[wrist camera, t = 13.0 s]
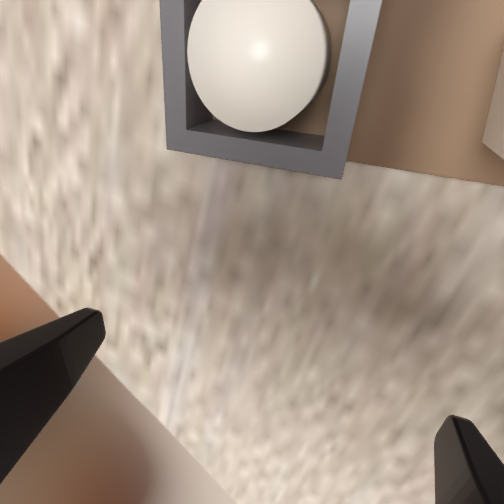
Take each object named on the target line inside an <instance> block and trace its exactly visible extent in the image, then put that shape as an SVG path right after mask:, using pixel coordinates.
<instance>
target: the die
mask: <svg viewBox="0 0 504 504" xmlns="http://www.w3.org/2000/svg"><path fill="white" fill-rule="evenodd" d="M482 143H483V144H485V145H486V146H487V147H488V148H490V149H491V150H492V151H493V152H495V153H496V154H497V155H499V156H500V157H501V158H502V159H504V49H503V53H502V57H501V62H500V66H499V70H498V75H497V79H496V83H495V88H494V92H493V96H492V101H491V105H490V109H489V114H488V118H487V122H486V126H485V131H484V135H483V139H482Z"/></svg>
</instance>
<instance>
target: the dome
mask: <svg viewBox="0 0 504 504" xmlns="http://www.w3.org/2000/svg"><path fill="white" fill-rule="evenodd" d="M187 55H188V65H189V71H190V75H191V79H192V82H193V85H194V87H195V90H196V92H197V94H198V95H199V97H200V99H201V101H202V102H203V104H204V105H205V106H206V107H207V109H208V110H209V111H210V112H211V113H212V114H213V115H214V116H215V117H216V118H217V119H219V120H220V121H222V122H223V123H225V124H226V125H228V126H230V127H232V128H235V129H238V130H242V131H246V132H263V131H268V130H272V129H274V128H277V127H279V126H281V125H283V124H285V123H287V122H288V121H289V120H291V119H292V118H293V117H295V116H296V115H297V114H298V113H300V112H301V111H302V110H303V109H305V108H306V107H307V106H308V105H309V104H310V103H311V102H312V101H313V100H314V99H315V98H316V97H317V95H318V94H319V92H320V91H321V89H322V88H323V86H324V84H325V82H326V79H327V76H328V74H329V70H330V66H331V59H332V42H331V35H330V31H329V27H328V25H327V22H326V20H325V18H324V16H323V14H322V12H321V11H320V9H319V8H318V7H317V5H316V4H315V3H314V2H313V1H312V0H202V1H201V2H200V4H199V6H198V8H197V10H196V12H195V14H194V17H193V20H192V23H191V26H190V30H189V36H188V47H187Z"/></svg>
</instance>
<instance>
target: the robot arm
mask: <svg viewBox="0 0 504 504" xmlns="http://www.w3.org/2000/svg"><path fill="white" fill-rule="evenodd" d="M105 334H106V331H105V326H104V321H103V316H102V313H101V312H100V311H99V310H95V309H92V308H84V309H81V310H79V311H76V312H74V313H71V314H69V315H66V316H64V317H61V318H59V319H57V320H54V321H52V322H49V323H47V324H44V325H42V326H39V327H37V328H35V329H32V330H30V331H27V332H25V333H22V334H20V335H17V336H15V337H13V338H10V339H8V340H5V341H3V342H0V484H1V483H2V481H3V480H4V479H5V477H6V476H7V475H8V473H9V472H10V471H11V469H12V468H13V467H14V466H15V464H16V463H17V462H18V460H19V459H20V458H21V456H22V455H23V454H24V452H25V451H26V450H27V449H28V447H29V446H30V445H31V443H32V442H33V441H34V439H35V438H36V437H37V435H38V434H39V432H41V430H42V429H43V428H44V426H45V425H46V424H47V422H48V421H49V420H50V418H51V417H52V416H53V414H54V413H55V412H56V411H57V409H58V408H59V407H60V405H61V404H62V403H63V402H64V400H65V399H66V398H67V396H68V395H69V394H70V392H71V391H72V389H73V388H74V387H75V385H76V384H77V382H78V381H79V379H80V377H81V376H82V374H83V373H84V371H85V369H86V368H87V366H88V365H89V363H90V361H91V360H92V358H93V357H94V355H95V353H96V352H97V350H98V349H99V347H100V345H101V344H102V342H103V340H104V338H105ZM434 462H435V504H504V464H503V463H502V462H501V460H500V459H499V458H498V456H497V455H496V454H495V452H494V451H493V449H492V448H491V447H490V445H489V444H488V443H487V441H486V440H485V439H484V437H483V436H482V435H481V433H480V432H479V430H478V429H477V428H476V426H475V425H474V424H473V423H472V422H471V421H470V420H468V419H465V418H462V417H459V416H455V415H450V416H448V417H447V418H446V420H445V421H444V423H443V425H442V426H441V428H440V429H439V431H438V432H437V434H436V436H435V441H434Z"/></svg>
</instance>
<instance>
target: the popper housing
mask: <svg viewBox="0 0 504 504" xmlns="http://www.w3.org/2000/svg"><path fill="white" fill-rule="evenodd" d="M201 1H202V0H160V20H161V40H162V60H163V80H164V101H165V121H166V141H167V149H168V150H174V151H180V152H185V153H191V154H197V155H203V156H209V157H214V158H220V159H226V160H232V161H237V162H243V163H249V164H255V165H261V166H266V167H272V168H278V169H284V170H289V171H295V172H301V173H307V174H313V175H318V176H324V177H330V178H336V179H342V175H343V171H344V166H345V162H346V158H347V154H348V149H349V145H350V140H351V136H352V132H353V127H354V123H355V118H356V114H357V110H358V105H359V101H360V97H361V92H362V88H363V83H364V79H365V75H366V70H367V66H368V62H369V57H370V53H371V48H372V44H373V40H374V35H375V31H376V26H377V22H378V18H379V13H380V9H381V5H382V0H350V5H349V10H348V15H347V21H346V26H345V31H344V37H343V42H342V47H341V52H340V58H339V63H338V68H337V74H336V79H335V84H334V90H333V95H332V100H331V106H330V111H329V116H328V122H327V127H326V132H325V136H322V135H316V134H309V133H302V132H295V131H289V130H282V129H275V128H274V129H272V130H268V131H263V132H246V131H242V130H238V129H235V128H232V127H230V126H228V125H226V124H225V123H223V122H222V121H220V120H214V119H213V114H212V113H211V112H210V111H209V110H208V109H207V107H206V106H205V105H204V104H203V102H202V101H201V99H200V97H199V95H198V94H197V92H196V90H195V87H194V85H193V82H192V79H191V75H190V71H189V65H188V55H187V47H188V36H189V30H190V26H191V23H192V20H193V17H194V14H195V12H196V10H197V8H198V6H199V4H200V2H201Z"/></svg>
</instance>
